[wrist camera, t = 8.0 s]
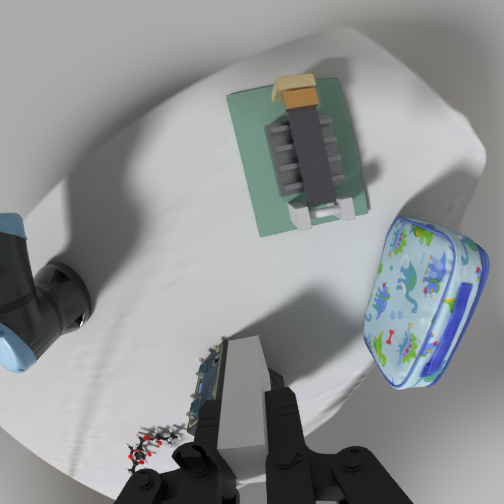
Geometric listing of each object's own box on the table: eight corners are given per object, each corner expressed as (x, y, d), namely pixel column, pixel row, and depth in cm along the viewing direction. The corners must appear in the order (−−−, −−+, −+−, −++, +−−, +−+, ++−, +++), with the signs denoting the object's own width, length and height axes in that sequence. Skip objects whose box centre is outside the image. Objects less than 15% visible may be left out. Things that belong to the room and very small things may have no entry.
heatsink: (279, 195, 44) (283, 198, 39) (263, 128, 41) (265, 122, 36) (338, 183, 44) (349, 184, 38) (323, 118, 41) (333, 111, 36)
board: (259, 236, 47) (262, 252, 37) (226, 97, 41) (220, 77, 31) (365, 212, 46) (392, 222, 36) (336, 79, 40) (355, 59, 30)
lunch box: (394, 339, 53) (441, 400, 33) (352, 338, 53) (392, 408, 33) (430, 221, 47) (505, 248, 26) (386, 210, 46) (461, 235, 26)
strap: (306, 206, 39) (309, 209, 36) (280, 96, 34) (282, 92, 32) (335, 200, 38) (340, 202, 36) (311, 91, 34) (314, 87, 32)
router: (219, 334, 52) (206, 410, 33) (287, 379, 55) (300, 453, 36) (195, 359, 54) (176, 433, 34) (262, 399, 57) (267, 471, 38)
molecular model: (141, 458, 65) (134, 494, 50) (111, 437, 63) (99, 474, 47) (196, 432, 65) (195, 475, 49) (164, 408, 62) (156, 452, 47)
